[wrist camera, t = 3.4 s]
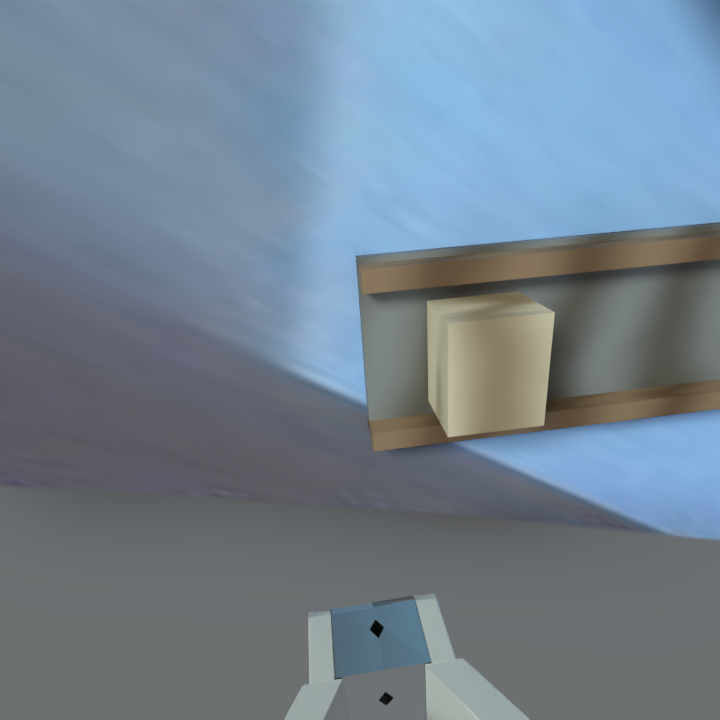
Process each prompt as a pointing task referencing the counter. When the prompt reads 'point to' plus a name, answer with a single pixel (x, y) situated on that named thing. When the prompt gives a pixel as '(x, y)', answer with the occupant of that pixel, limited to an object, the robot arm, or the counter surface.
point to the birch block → (488, 362)
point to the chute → (555, 325)
